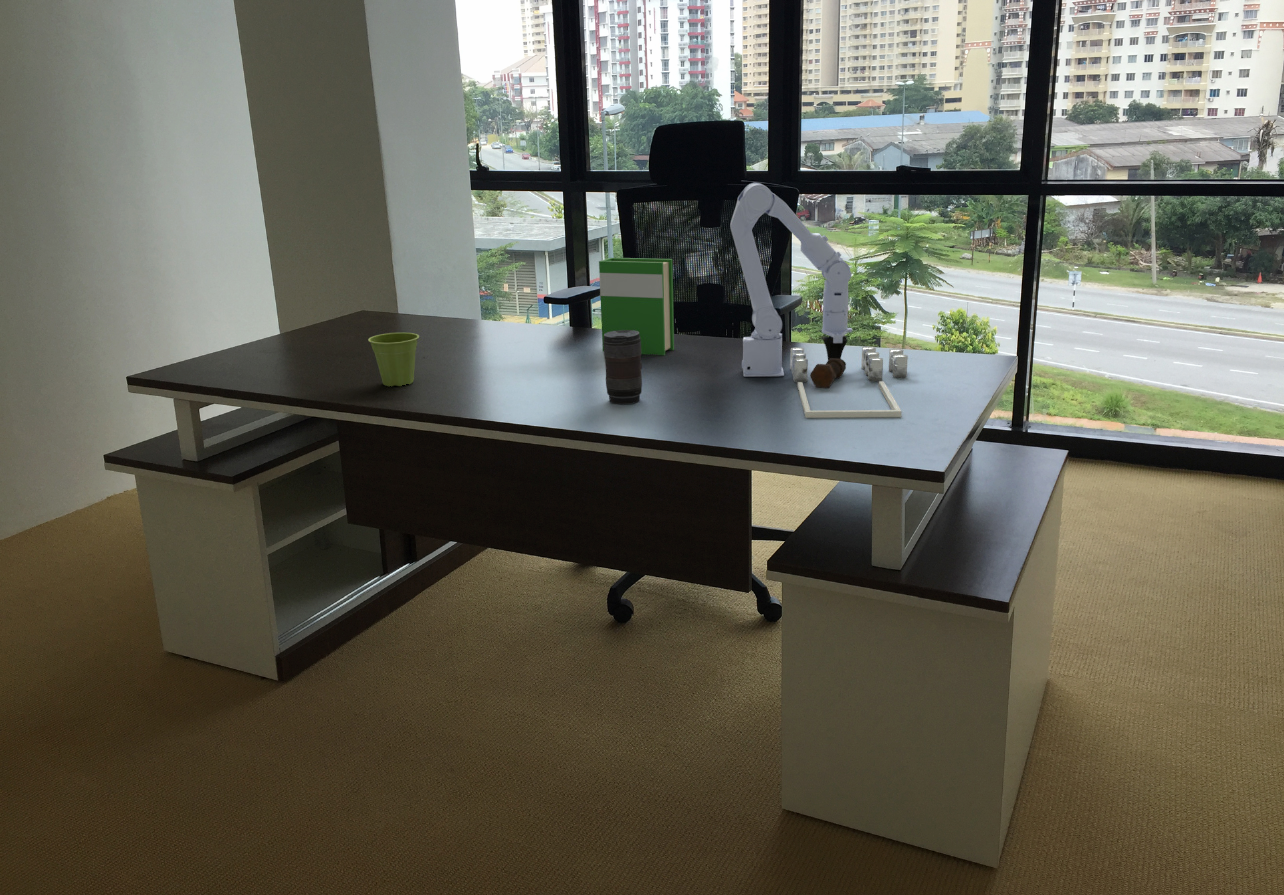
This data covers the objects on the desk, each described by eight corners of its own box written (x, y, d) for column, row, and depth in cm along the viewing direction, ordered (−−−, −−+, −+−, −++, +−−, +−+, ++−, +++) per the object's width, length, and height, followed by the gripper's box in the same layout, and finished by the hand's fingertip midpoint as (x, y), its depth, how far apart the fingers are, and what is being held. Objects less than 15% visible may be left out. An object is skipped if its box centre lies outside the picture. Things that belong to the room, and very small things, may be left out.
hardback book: (674, 349, 274) (672, 259, 267) (664, 355, 267) (661, 262, 260) (614, 346, 280) (610, 257, 273) (602, 351, 274) (598, 261, 267)
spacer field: (793, 382, 235) (794, 361, 234) (789, 367, 249) (790, 347, 248) (909, 381, 233) (911, 360, 231) (899, 366, 247) (900, 346, 246)
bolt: (842, 380, 243) (824, 393, 230) (824, 368, 244) (806, 380, 231) (855, 360, 240) (838, 372, 227) (837, 348, 241) (819, 359, 228)
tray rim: (805, 417, 207) (805, 411, 207) (797, 387, 231) (797, 382, 230) (901, 417, 205) (901, 411, 205) (883, 386, 229) (883, 381, 229)
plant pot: (363, 388, 243) (357, 341, 239) (391, 376, 253) (386, 331, 250) (406, 390, 239) (401, 343, 235) (433, 379, 249) (428, 333, 246)
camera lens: (606, 396, 228) (604, 329, 224) (643, 395, 228) (641, 329, 223) (604, 405, 221) (601, 337, 216) (642, 405, 220) (640, 336, 216)
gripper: (856, 315, 233) (854, 373, 237) (849, 304, 246) (847, 360, 250) (825, 316, 233) (823, 374, 237) (819, 305, 247) (818, 360, 251)
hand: (833, 367), depth 244 cm, fingers closed
